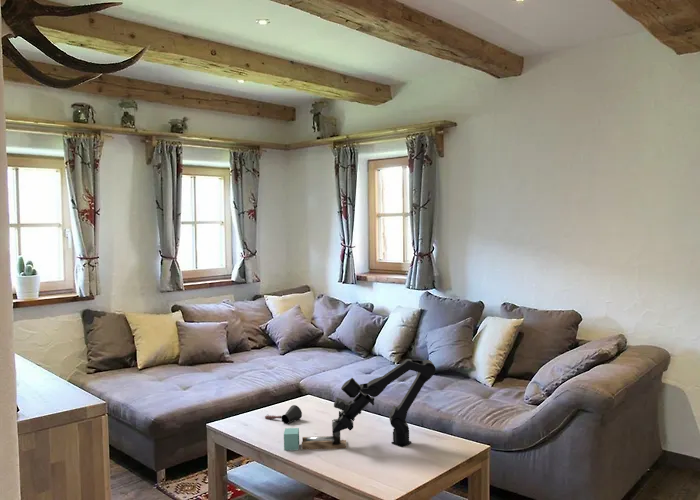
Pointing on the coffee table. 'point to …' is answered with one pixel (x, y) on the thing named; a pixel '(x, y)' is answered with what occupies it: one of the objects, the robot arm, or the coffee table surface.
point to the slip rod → (334, 438)
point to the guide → (322, 444)
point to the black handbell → (289, 415)
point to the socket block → (291, 438)
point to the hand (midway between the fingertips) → (333, 430)
